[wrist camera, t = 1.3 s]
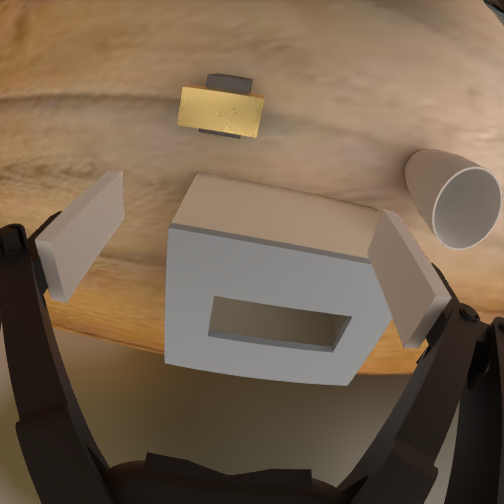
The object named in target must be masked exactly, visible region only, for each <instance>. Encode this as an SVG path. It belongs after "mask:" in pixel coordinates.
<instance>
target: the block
mask: <svg viewBox="0 0 504 504" xmlns="http://www.w3.org/2000/svg"><path fill="white" fill-rule="evenodd" d="M252 80H253V79H248V78H242V77H236V76H230V75H223V74H210V75H208V78H207V83H206V86H208V87H215V88H222V89H228V90H234V91H240V92H246V93H250V90H251V85H252ZM199 132H202V133H209V134H215V135H221V136H227V137H233V138H239V139H240V136H241V135H238V134H232V133H226V132H220V131H214V130H207V129H201V128H199Z"/></svg>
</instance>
